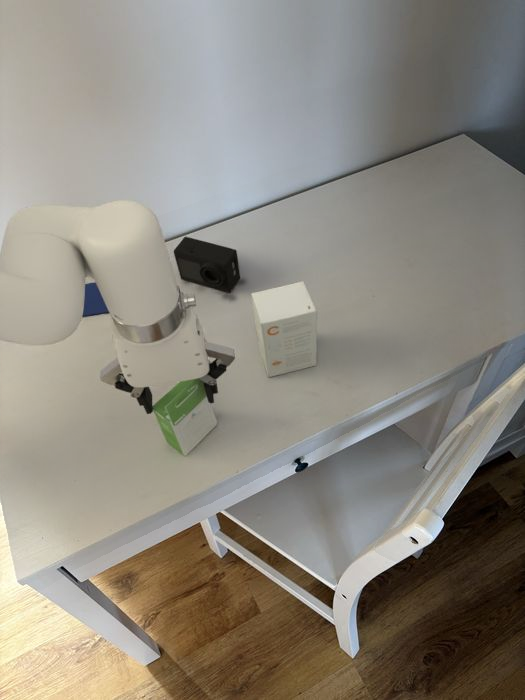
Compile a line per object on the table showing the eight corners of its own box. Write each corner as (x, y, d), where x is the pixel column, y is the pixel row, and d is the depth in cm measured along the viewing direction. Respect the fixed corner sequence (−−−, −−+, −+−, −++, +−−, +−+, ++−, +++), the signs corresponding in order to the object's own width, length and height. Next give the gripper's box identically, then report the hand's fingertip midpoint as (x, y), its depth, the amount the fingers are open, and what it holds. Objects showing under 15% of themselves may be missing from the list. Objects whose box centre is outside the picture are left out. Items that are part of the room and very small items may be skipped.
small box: (305, 336, 88) (304, 279, 78) (317, 366, 84) (317, 310, 74) (257, 348, 87) (250, 292, 77) (267, 378, 83) (261, 324, 73)
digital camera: (176, 283, 98) (168, 255, 92) (191, 264, 101) (184, 235, 95) (227, 298, 95) (221, 269, 89) (240, 278, 97) (236, 249, 92)
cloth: (64, 320, 94) (64, 318, 94) (68, 288, 99) (67, 286, 99) (166, 303, 95) (165, 302, 95) (164, 272, 100) (164, 271, 100)
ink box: (200, 410, 81) (183, 356, 70) (218, 424, 79) (204, 371, 68) (166, 442, 78) (143, 391, 67) (184, 457, 76) (164, 408, 65)
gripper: (224, 274, 60) (241, 366, 74) (69, 298, 59) (116, 387, 73) (232, 323, 55) (248, 412, 69) (64, 351, 55) (114, 435, 69)
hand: (180, 399), depth 71 cm, fingers closed on ink box, 7 cm apart
